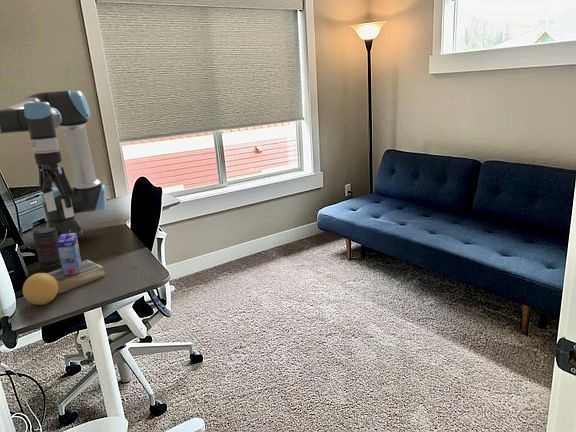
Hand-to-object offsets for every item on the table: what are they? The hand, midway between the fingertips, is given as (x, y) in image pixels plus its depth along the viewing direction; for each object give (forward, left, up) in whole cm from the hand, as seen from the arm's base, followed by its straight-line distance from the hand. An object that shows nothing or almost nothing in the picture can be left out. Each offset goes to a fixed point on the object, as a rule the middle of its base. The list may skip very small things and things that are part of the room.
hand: (60, 213), depth 149 cm
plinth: (0, 0, -25) cm, 25 cm away
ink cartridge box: (0, 0, -21) cm, 21 cm away
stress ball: (+9, -14, -25) cm, 30 cm away
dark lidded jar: (-21, +1, -25) cm, 32 cm away
